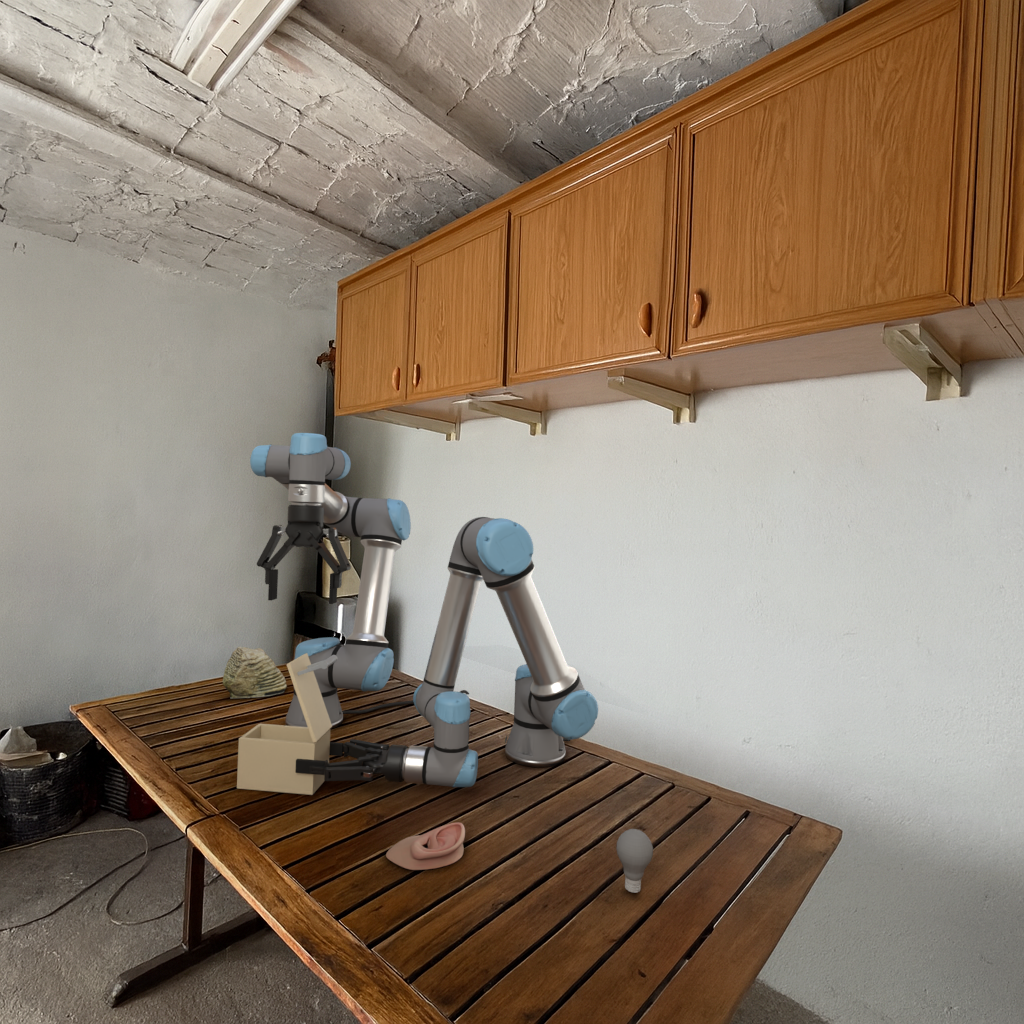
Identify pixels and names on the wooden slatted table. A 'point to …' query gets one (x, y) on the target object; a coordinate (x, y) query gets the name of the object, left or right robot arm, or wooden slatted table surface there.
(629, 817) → the wooden slatted table surface
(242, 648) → the fossil
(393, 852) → the anatomical model
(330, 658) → the lid
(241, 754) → the chest
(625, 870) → the light bulb
